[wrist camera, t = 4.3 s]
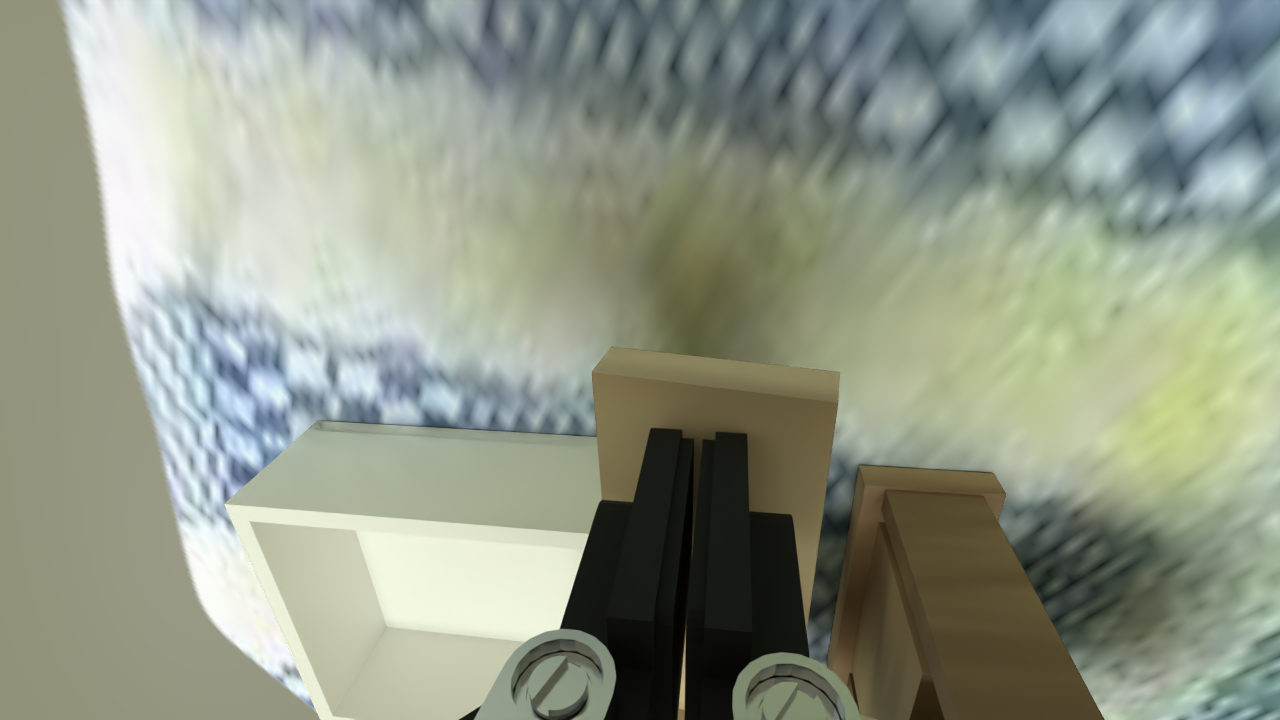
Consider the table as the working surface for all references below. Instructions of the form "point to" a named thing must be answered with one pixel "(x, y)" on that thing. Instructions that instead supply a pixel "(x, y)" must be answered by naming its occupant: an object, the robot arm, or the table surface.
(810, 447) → the lever
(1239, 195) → the table surface
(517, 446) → the dish
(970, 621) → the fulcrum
